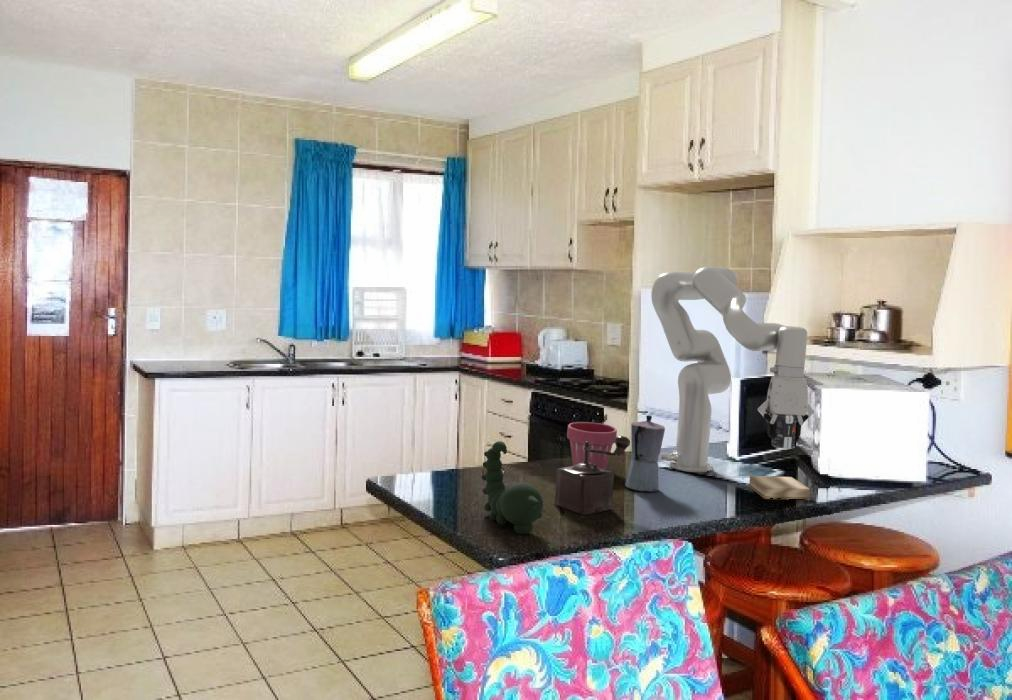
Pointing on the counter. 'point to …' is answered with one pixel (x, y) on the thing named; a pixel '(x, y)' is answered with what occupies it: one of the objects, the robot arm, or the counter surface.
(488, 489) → the toy figurine
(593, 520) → the counter surface
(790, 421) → the pill bottle
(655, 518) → the counter surface
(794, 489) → the base
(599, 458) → the plant pot
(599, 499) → the coffee grinder
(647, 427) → the moka pot
